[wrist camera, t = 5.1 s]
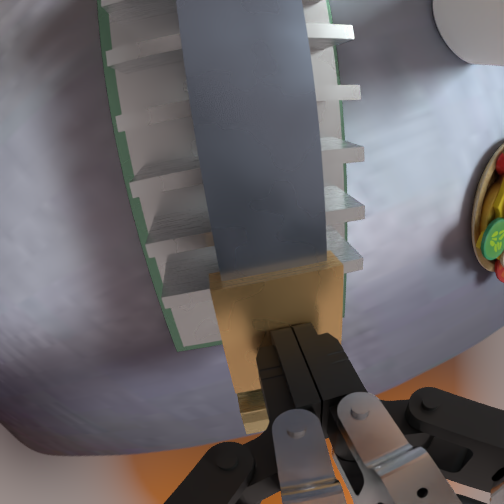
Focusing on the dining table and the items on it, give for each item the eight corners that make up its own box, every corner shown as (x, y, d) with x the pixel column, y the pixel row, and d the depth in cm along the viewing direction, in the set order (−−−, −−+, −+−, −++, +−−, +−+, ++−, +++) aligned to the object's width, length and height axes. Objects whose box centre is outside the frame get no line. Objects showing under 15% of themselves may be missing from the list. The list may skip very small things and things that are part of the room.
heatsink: (98, -46, 9) (41, -124, 2) (310, -69, 11) (382, -143, 3) (177, 346, 21) (178, 458, 13) (341, 312, 22) (398, 405, 15)
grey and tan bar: (156, -106, 5) (152, -133, 3) (270, -114, 5) (282, -139, 4) (232, 368, 14) (237, 400, 12) (323, 347, 14) (338, 376, 13)
